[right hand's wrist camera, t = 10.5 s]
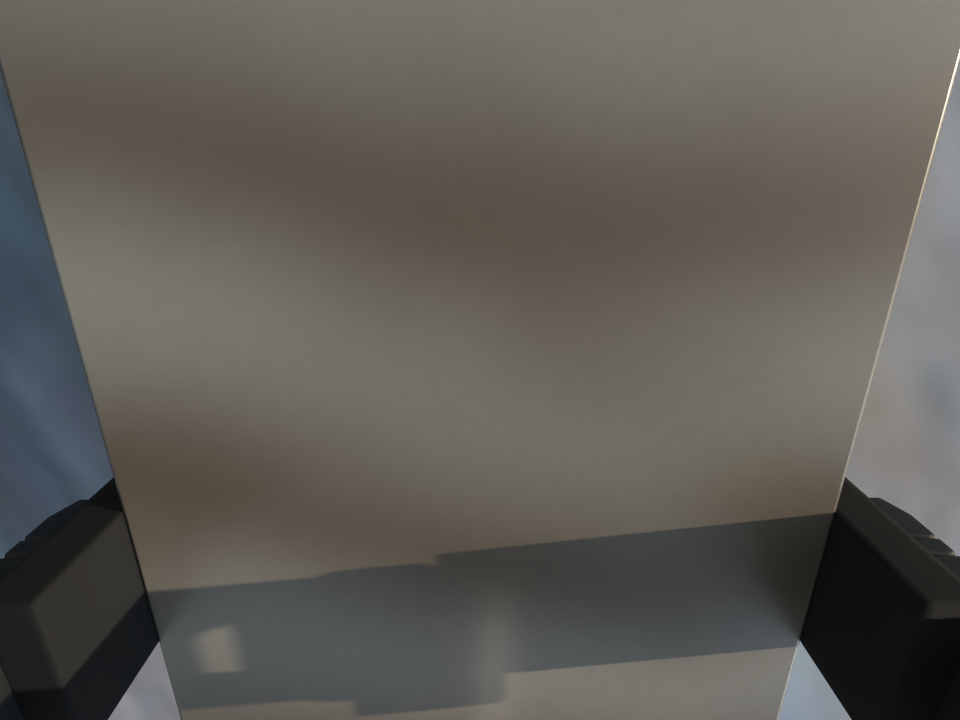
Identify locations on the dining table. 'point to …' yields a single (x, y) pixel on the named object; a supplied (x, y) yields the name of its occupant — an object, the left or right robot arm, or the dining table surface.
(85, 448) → the dining table surface
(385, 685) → the cabinet
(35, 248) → the dining table surface
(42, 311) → the dining table surface
